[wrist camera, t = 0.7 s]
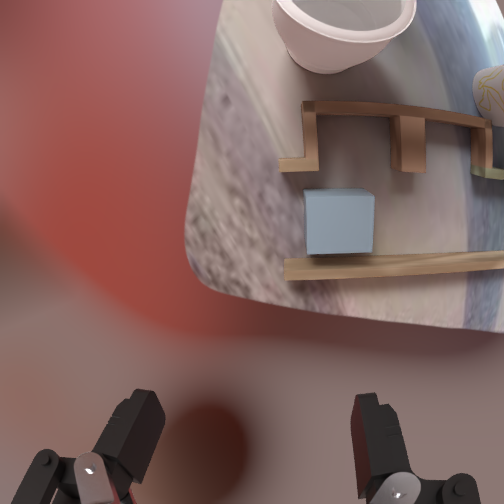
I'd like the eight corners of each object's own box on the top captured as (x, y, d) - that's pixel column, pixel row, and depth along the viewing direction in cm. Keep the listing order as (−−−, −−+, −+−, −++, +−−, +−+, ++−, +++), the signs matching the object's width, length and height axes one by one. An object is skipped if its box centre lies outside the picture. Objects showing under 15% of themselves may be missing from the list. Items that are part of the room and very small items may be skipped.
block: (303, 188, 33) (306, 196, 28) (362, 187, 32) (374, 196, 27) (304, 238, 35) (307, 254, 30) (361, 237, 34) (372, 252, 30)
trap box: (275, 106, 30) (274, 102, 26) (518, 130, 25) (533, 132, 22) (284, 267, 37) (284, 280, 33) (508, 257, 32) (520, 266, 29)
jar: (328, -7, 23) (349, -77, 9) (385, 57, 26) (443, 14, 12) (257, 34, 27) (236, -31, 13) (314, 99, 29) (336, 69, 15)
